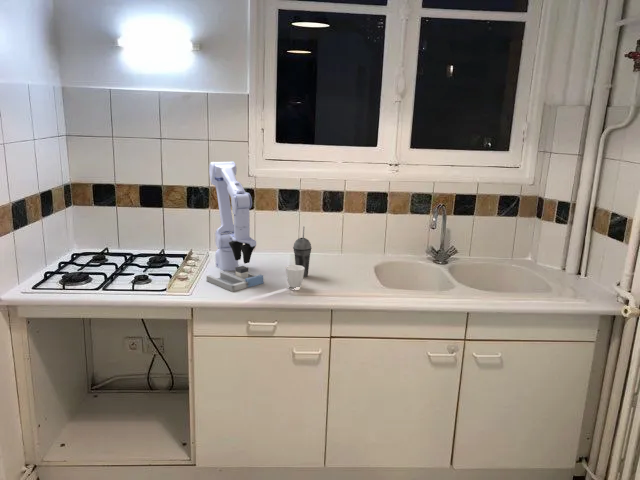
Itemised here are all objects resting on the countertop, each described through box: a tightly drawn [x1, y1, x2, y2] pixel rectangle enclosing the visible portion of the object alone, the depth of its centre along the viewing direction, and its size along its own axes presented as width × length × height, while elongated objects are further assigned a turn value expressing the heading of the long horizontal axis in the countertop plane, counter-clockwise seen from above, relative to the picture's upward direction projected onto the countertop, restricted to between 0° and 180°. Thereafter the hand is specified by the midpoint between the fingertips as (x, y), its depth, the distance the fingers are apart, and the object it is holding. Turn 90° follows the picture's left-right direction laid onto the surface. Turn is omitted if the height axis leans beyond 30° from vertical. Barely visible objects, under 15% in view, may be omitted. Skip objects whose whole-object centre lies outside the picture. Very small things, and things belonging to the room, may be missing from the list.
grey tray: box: [205, 269, 265, 293], centre depth 199 cm, size 16×15×4 cm
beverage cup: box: [292, 226, 312, 278], centre depth 209 cm, size 7×7×20 cm
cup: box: [285, 264, 305, 291], centre depth 198 cm, size 7×10×8 cm
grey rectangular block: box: [236, 265, 249, 279], centre depth 201 cm, size 3×3×5 cm
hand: (242, 261), depth 200 cm, fingers open, 5 cm apart
